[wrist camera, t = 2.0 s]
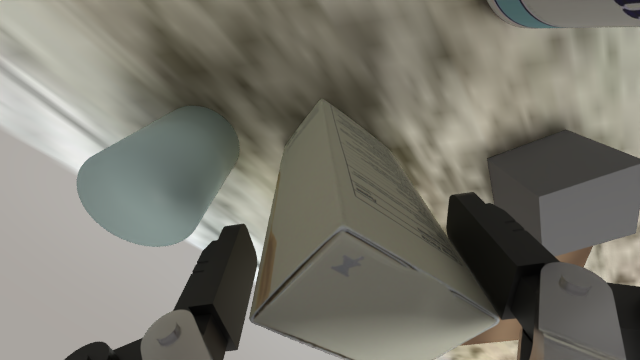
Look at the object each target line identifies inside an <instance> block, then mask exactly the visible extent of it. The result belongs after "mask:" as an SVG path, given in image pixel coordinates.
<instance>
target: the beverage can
mask: <svg viewBox="0 0 640 360" xmlns="http://www.w3.org/2000/svg"><path fill="white" fill-rule="evenodd" d="M487 2H488V4H489V5H490V7H491V8H492V10H493V11H494V12H495V13H496V14H497V15H498V16H499V17H500V18H501V19H502V20H504V21H505V22H507V23H509V24H511V25H514V26H517V27H522V28H590V27H640V0H487Z"/></svg>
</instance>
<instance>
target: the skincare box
mask: <svg viewBox="0 0 640 360" xmlns="http://www.w3.org/2000/svg"><path fill="white" fill-rule="evenodd" d="M249 319H250V321H251V322H252V323H254V324H256V325H259V326H261V327H264V328H266V329H268V330H271V331H273V332H276V333H278V334H280V335H282V336H285V337H288V338H290V339H292V340H295V341H298V342H300V343H302V344H305V345H308V346H310V347H312V348H315V349H318V350H321V351H323V352H325V353H328V354H331V355H334V356H336V357H339V358H341V359H344V360H434V359H436V358H438V357H440V356H442V355H443V354H445V353H446V352H448V351H450V350H452V349H454V348H456V347H457V346H459V345H461V344H463V343H465V342H466V341H469V340H470V339H472V338H474V337H476V336H477V335H479V334H481V333H483V332H485V331H486V330H488V329H490V328H492V327H494V326H496V325H497V324H498V323H499V321H500V319H499V316H498V314H497V312H496V311H495V309H494V308H493V306H492V305H491V303H490V302H489V300H488V299H487V297H486V296H485V294H484V292H483V291H482V289H481V288H480V286H479V285H478V283H477V282H476V280H475V279H474V277H473V276H472V274H471V273H470V271H469V270H468V268H467V267H466V265H465V264H464V262H463V261H462V259H461V257H460V256H459V254H458V253H457V251H456V250H455V248H454V247H453V245H452V244H451V242H450V241H449V239H448V238H447V236H446V234H445V233H444V231H443V230H442V228H441V227H440V225H439V224H438V222H437V221H436V219H435V218H434V216H433V214H432V213H431V211H430V210H429V208H428V207H427V205H426V204H425V202H424V201H423V199H422V198H421V196H420V195H419V193H418V192H417V190H416V189H415V187H414V186H413V184H412V183H411V181H410V179H409V178H408V176H407V175H406V173H405V172H404V170H403V169H402V167H401V166H400V164H399V163H398V161H397V159H396V158H395V156H394V155H393V153H392V152H391V151H390V150H389V149H388V148H387V147H386V146H385V145H383V144H382V143H381V142H380V141H379V140H377V139H376V138H375V137H374V136H372V135H371V134H370V133H369V132H367V131H366V130H365V129H363V128H362V127H361V126H359V125H358V124H357V123H356V122H354V121H353V120H352V119H350V118H349V117H348V116H346V115H345V114H344V113H342V112H341V111H339V110H338V109H337V108H335V107H334V106H332V105H331V104H330V103H328V102H327V101H325V100H324V99H320V101H319V102H318V103H317V104H316V105H315V107H314V108H313V109H312V110H311V112H310V113H309V114H308V115H307V117H306V118H305V119H304V121H303V122H302V123H301V125H300V126H299V127H298V129H297V130H296V131H295V133H294V134H293V135H292V137H291V138H290V140H289V141H288V143H287V144H286V146H285V147H284V151H283V156H282V160H281V165H280V170H279V175H278V180H277V185H276V190H275V194H274V199H273V204H272V208H271V214H270V217H269V223H268V227H267V232H266V237H265V242H264V247H263V252H262V257H261V262H260V267H259V272H258V277H257V281H256V286H255V292H254V297H253V302H252V307H251V312H250V317H249Z"/></svg>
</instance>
